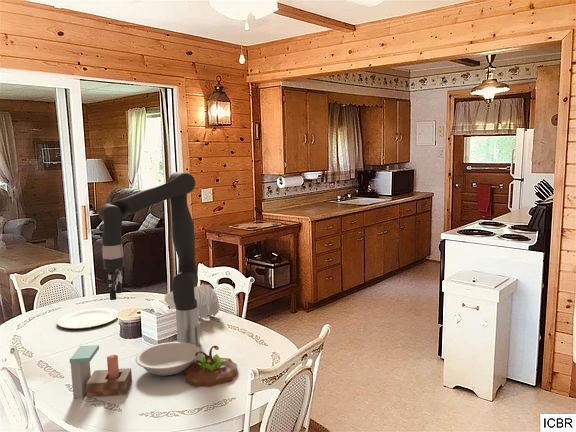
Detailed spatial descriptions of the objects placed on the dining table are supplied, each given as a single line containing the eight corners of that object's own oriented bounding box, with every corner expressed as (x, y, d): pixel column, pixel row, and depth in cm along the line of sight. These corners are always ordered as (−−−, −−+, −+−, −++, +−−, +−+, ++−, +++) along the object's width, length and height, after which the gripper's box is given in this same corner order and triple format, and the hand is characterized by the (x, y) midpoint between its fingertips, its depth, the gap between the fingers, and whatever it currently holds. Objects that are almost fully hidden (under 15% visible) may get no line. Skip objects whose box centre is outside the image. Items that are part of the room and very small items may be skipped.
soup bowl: (130, 365, 187) (129, 350, 186) (189, 352, 198) (188, 337, 198) (144, 391, 166) (143, 374, 165) (209, 374, 178) (208, 358, 177)
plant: (241, 383, 172) (240, 354, 170) (186, 391, 167) (185, 361, 165) (233, 360, 191) (232, 333, 189) (184, 366, 186) (182, 339, 184)
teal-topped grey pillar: (101, 382, 173) (98, 344, 172) (92, 397, 163) (89, 357, 161) (83, 383, 173) (80, 346, 171) (73, 399, 162) (69, 359, 160)
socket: (132, 380, 174) (131, 368, 173) (125, 394, 164) (124, 381, 164) (95, 383, 173) (94, 370, 172) (87, 397, 163) (86, 383, 162)
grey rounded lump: (219, 323, 242) (178, 335, 224) (200, 302, 252) (159, 312, 234) (229, 295, 235) (187, 305, 217) (209, 275, 245) (168, 282, 227)
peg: (110, 386, 170) (108, 354, 169) (121, 385, 171) (118, 354, 169) (108, 391, 167) (105, 359, 165) (118, 390, 167) (116, 358, 166)
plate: (98, 307, 260) (98, 304, 259) (131, 317, 243) (130, 314, 242) (45, 324, 236) (45, 320, 236) (77, 336, 219) (77, 332, 219)
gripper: (108, 252, 189) (111, 291, 191) (97, 260, 175) (101, 302, 177) (127, 251, 190) (130, 290, 192) (118, 259, 175) (121, 301, 178)
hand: (116, 296), depth 184 cm, fingers open, 8 cm apart
